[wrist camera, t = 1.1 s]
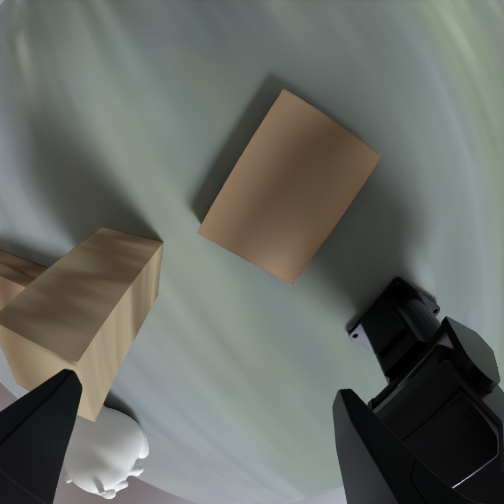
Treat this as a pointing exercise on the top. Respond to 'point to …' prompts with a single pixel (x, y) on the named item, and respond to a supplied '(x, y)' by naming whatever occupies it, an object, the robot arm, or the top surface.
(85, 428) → the figurine
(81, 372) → the upright offcut
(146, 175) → the top surface
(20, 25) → the top surface
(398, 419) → the robot arm
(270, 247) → the loose offcut
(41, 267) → the plank stack
